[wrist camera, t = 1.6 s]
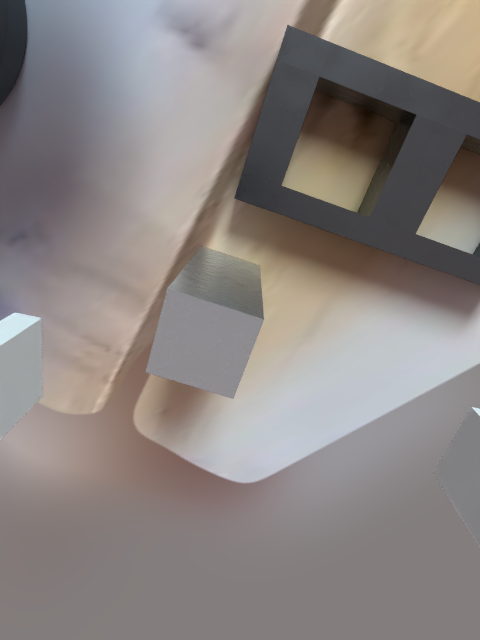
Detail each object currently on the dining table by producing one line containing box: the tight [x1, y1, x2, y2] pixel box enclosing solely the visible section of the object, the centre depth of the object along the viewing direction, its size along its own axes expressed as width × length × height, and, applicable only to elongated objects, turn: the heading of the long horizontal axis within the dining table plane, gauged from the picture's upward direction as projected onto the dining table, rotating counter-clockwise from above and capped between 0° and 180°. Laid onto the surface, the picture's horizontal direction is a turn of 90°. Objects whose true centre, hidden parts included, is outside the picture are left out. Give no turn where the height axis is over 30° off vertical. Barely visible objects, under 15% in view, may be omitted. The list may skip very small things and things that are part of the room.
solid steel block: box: [146, 246, 264, 398], centre depth 23 cm, size 5×5×12 cm
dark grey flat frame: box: [235, 25, 480, 285], centre depth 24 cm, size 22×10×3 cm, turn 72°
